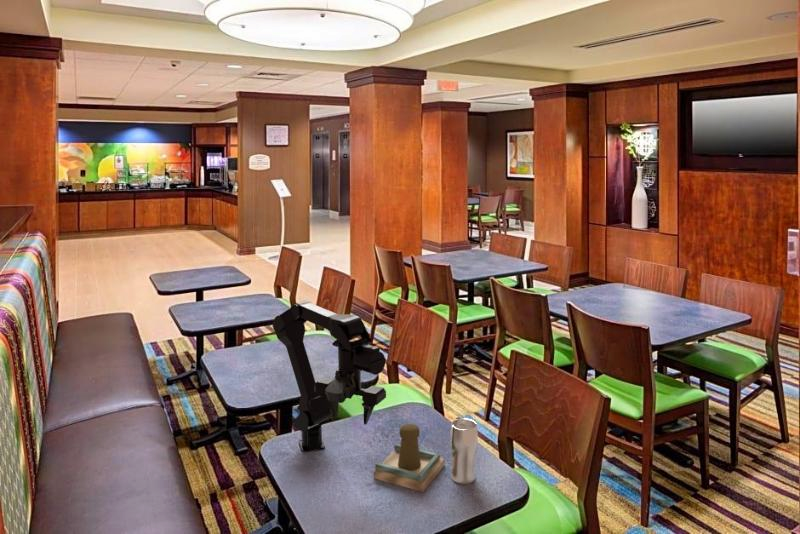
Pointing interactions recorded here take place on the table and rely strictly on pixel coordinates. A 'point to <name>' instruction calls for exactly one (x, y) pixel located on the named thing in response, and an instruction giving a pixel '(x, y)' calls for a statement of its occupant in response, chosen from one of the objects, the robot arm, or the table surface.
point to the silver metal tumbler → (463, 449)
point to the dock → (406, 478)
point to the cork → (409, 448)
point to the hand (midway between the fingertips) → (350, 420)
